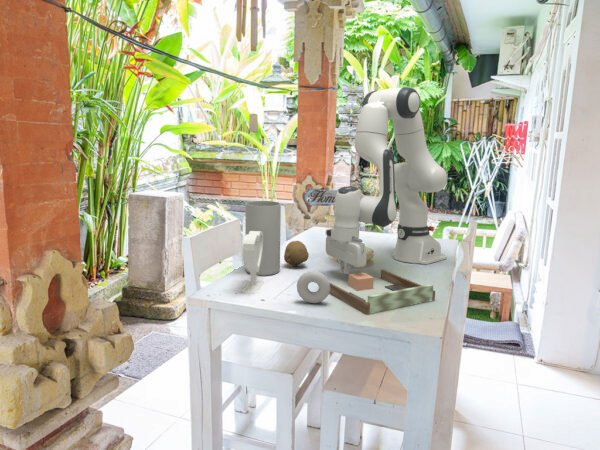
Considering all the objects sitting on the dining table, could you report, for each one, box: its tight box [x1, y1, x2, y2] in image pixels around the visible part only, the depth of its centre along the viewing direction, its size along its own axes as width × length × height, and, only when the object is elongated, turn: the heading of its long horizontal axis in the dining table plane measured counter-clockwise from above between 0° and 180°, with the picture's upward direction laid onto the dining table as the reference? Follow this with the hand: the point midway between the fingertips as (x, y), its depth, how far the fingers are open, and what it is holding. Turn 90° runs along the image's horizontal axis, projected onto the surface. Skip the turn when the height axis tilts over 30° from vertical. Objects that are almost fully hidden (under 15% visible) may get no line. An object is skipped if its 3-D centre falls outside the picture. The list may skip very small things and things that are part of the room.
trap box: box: [328, 269, 436, 315], centre depth 146 cm, size 26×25×5 cm
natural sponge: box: [283, 240, 310, 267], centre depth 174 cm, size 9×9×10 cm
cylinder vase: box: [244, 200, 282, 277], centre depth 166 cm, size 12×12×25 cm
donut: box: [296, 270, 330, 304], centre depth 137 cm, size 10×4×10 cm, turn 81°
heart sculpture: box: [242, 231, 265, 295], centre depth 149 cm, size 16×5×18 cm, turn 174°
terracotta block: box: [347, 272, 375, 291], centre depth 153 cm, size 6×6×4 cm
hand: (344, 272), depth 161 cm, fingers closed
